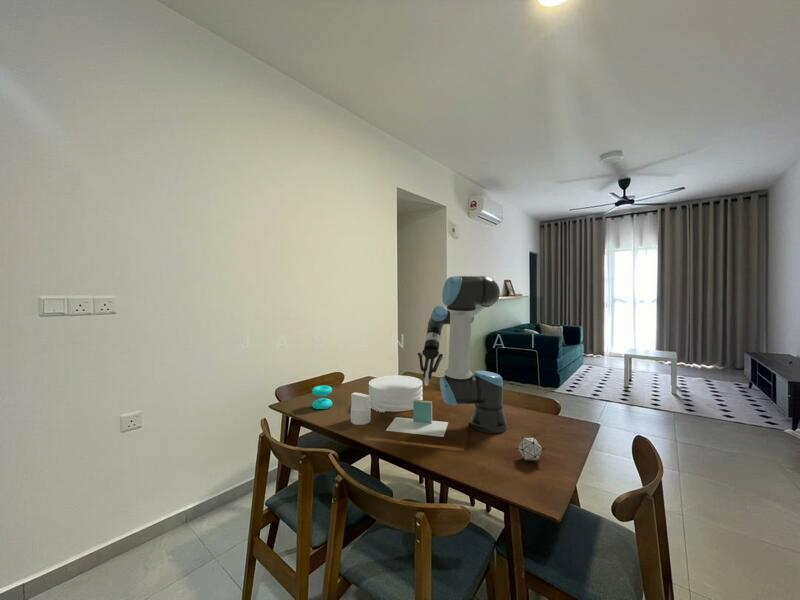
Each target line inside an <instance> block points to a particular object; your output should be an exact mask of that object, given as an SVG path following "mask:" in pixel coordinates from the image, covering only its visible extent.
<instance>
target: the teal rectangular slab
mask: <svg viewBox="0 0 800 600" xmlns="http://www.w3.org/2000/svg"><path fill="white" fill-rule="evenodd" d="M412 411H413V412H412V413H413V414H412V415H413V416H412V417H413V418H412V419H413V422H421V423H432V421H433V401H432V400H424V399H423V400H414V401H413V409H412Z"/></svg>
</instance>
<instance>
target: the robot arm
mask: <svg viewBox="0 0 800 600" xmlns="http://www.w3.org/2000/svg"><path fill="white" fill-rule="evenodd" d="M441 293H442V295H441V296H442V297H441V298H442V304H443V305H444V306H442V305H437V306H435V307H434V308H433V309H432V311H431V313H430V314H431V315H430V318H429V319H428V322H427V328H426V334H425V342H424V345H423V350H422V351H421V352H418V353H417V355H418V358H419V366H420V371H421V372H422V373H423V375H422V378H423V379H424V381H423V383H424V386H429V381H430V379H432V376H433V373H436V372H437V371H438V367H439V365H440V364H441V361H442V360H443V358H444V354H443V353H440V352H439V351H440V342H441V335H442V329H443V327H444V325H449V341H448V342H449V343H448V346H449V347H448V348H449V349H448V368H447V369H445V370H444V376H441V377H440V378H439V388H440V393H441V397H442V399H443V401H444V403H445V404H447V405H449V406H458V405H459V406H460V405H473V404H474V410H473V412H472V415H471V418H470V426H471V428H472V429H474V430H476V431H477V432H481V433H486V434H500V433H503V432H506V431H507V430H508V421H507V418H506V415H505V411H504V409H503V408H504V403H503V402H504V400H503V399H504V398H503V397H504V383H503V382H504V381H503V377H502V376H501V375H500V374H498V373H495V372H492V371H487V370H476V371H475V372H474V373H473V372H472V370H470V362H471V361H470V360H471V359H470V358H471V340H472V339H471V338H472V337H471V335H472V324H473V322H474V320H475V316H477V315H478V314H479V313H481V312H482V311H483V310H485V308H490V307H492V306H494V305H495V304H496V303H497V302H498V300H499V298H500V294H501V291H500V287H499V285H498V283H497V282H496V281H495V280H494V279H493V278H491V277H488V276H484V275H479V276H478V275H477V276H476V275H471V276H469V275H463V276H462V275H456V276H449V277H448V278H447V279H446V280H445V281H444V284H443V288H442V292H441ZM445 306H446V307H445ZM423 356H424V358H425V360H423ZM435 359H436V360H435ZM423 361H424V363H423ZM434 362H435V363H434Z"/></svg>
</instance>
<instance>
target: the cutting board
mask: <svg viewBox="0 0 800 600" xmlns="http://www.w3.org/2000/svg"><path fill="white" fill-rule="evenodd" d="M448 425H449V421H439V420H432V423H421V422H413V418H408V417H396V416H395V417H394V419H393V420H392V422H390V424H389V426H388V427H387V428H386V430H385V431H386V432H395V433H405V434H414V435H421V436H422V435H423V436H432V437H441V438H444V437H445V433H446V432H447V428H448Z"/></svg>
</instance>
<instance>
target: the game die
mask: <svg viewBox="0 0 800 600" xmlns="http://www.w3.org/2000/svg"><path fill="white" fill-rule="evenodd" d="M520 438H521V440H520V442H519V445H518V446H517V447H515V448H514V449H515V450H518V452H519V453H520V454H521V456H522V458H523V460H524V461H523V462H524V463H526V462H527V461H537V462H538V463H540V457H541V454H542V452H543V451H545V450H546V448H544V447H542V445H541V444H540V443H539V441H538V440H537V439H536V438H537V436H536V434H535V435H534V436H533V437H523V436H522V435H520Z"/></svg>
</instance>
